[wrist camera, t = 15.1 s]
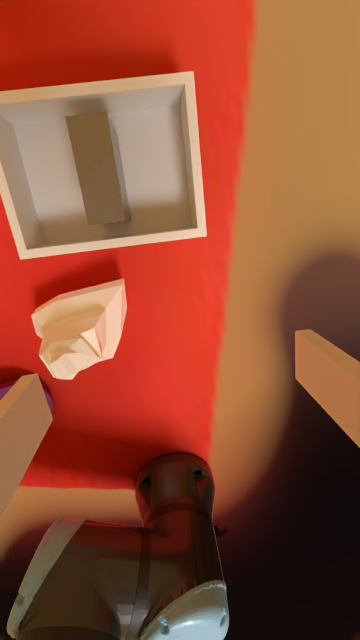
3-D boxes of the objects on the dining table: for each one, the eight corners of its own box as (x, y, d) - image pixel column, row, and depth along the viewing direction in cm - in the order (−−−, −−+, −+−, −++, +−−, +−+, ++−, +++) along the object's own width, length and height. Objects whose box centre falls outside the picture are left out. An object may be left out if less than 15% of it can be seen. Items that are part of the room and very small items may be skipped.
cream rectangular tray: (198, 233, 41) (206, 236, 34) (42, 252, 40) (20, 259, 33) (186, 98, 35) (193, 71, 29) (5, 118, 34) (-30, 94, 28)
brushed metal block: (131, 220, 39) (125, 220, 31) (101, 224, 38) (88, 225, 31) (117, 134, 35) (106, 111, 28) (84, 138, 35) (65, 116, 27)
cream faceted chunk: (147, 338, 47) (141, 410, 36) (60, 353, 48) (27, 427, 37) (125, 270, 40) (109, 331, 28) (24, 289, 41) (-32, 356, 29)
